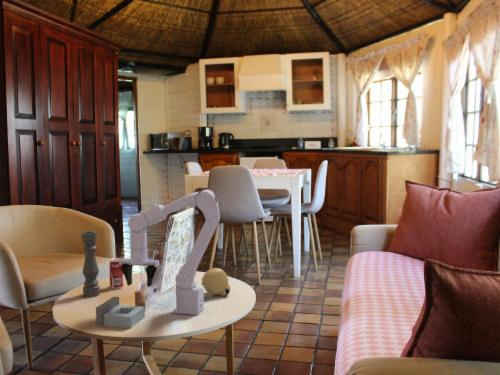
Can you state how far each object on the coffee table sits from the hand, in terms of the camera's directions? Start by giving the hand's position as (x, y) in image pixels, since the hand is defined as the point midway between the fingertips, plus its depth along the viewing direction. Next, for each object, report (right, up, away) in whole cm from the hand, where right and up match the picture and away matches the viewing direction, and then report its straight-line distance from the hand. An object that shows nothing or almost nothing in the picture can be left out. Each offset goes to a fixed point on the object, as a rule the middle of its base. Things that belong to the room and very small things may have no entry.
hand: (139, 285), depth 174 cm
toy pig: (+26, -8, +20) cm, 33 cm away
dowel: (0, -9, +1) cm, 9 cm away
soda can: (-16, -7, +29) cm, 34 cm away
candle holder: (-23, -8, +20) cm, 31 cm away
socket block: (-3, -11, -9) cm, 14 cm away
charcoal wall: (-9, -10, -7) cm, 15 cm away
